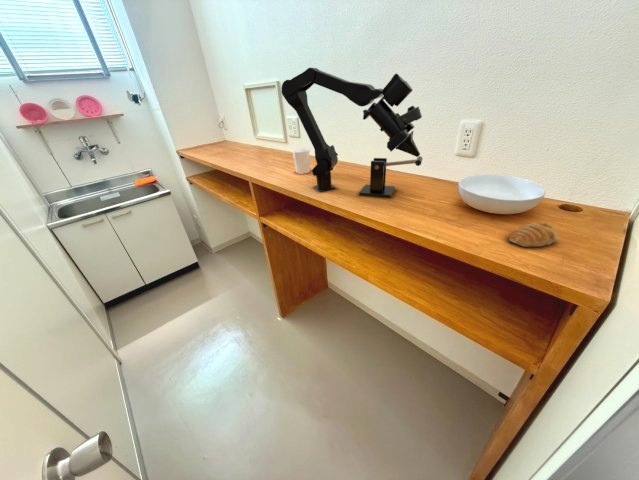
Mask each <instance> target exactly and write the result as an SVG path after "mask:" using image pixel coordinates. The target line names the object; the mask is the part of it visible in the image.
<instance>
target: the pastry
mask: <svg viewBox="0 0 639 480" xmlns="http://www.w3.org/2000/svg"><path fill="white" fill-rule="evenodd" d="M557 240H558V236H557V232H556V228H555V227H554V226H553V225H552V224H550V223H547V222H540V221H536V222H533V223H527V224H523V225H521V226H518V227H517V228H515V229H514V230H513V231H512V232H511V233H510V234H509V242H512V243H513V244H516V245H519V246H521V247H524V248H525V247H527V248H529V247H534V248H537V247H543V246H547V245H548V246H549V245H551V244H552V243H555V242H556V241H557Z"/></svg>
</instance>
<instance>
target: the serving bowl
mask: <svg viewBox="0 0 639 480" xmlns="http://www.w3.org/2000/svg"><path fill="white" fill-rule="evenodd" d="M457 187H458V188H457V190H458V191H457V192H458V195H459V197H460V199H461V200H462V201H463V202H464V203H465V204H466V205H468V206H469V207H471V208H473V209H475V210H479V211H481V212H484V213H489V214H496V215H514V214H515V215H516V214H520V213H524V212H527V211H529V210H532V209H533V208H534V207H536V206H537V205H538V204H539V203H541V202H542V200H543V199H544V197H545V195H546V194H547V193H546V192H547V191H546V188H545V187H543V186H542V185H541V184H540V183H537V182H535V181H532V180H530V179H526V178H523V177H519V176H513V175H506V174H497V173H495V174H494V173H479V174H471V175H467V176H464V177H462V178H460V179H459V180H458V184H457Z"/></svg>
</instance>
